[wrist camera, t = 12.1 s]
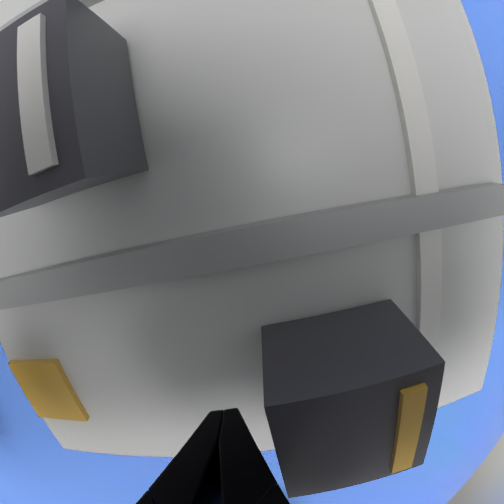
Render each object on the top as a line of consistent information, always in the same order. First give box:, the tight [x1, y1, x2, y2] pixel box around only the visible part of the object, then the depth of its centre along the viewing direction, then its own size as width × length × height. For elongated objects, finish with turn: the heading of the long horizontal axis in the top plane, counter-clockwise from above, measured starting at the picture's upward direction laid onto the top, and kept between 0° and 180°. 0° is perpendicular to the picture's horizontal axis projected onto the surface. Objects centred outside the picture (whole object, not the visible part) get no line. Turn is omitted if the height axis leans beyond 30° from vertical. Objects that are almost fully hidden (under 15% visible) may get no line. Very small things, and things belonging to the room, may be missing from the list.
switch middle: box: [0, 0, 149, 217], centre depth 6 cm, size 4×4×4 cm
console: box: [0, 0, 504, 457], centre depth 9 cm, size 20×26×3 cm
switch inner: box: [261, 299, 445, 498], centre depth 8 cm, size 4×4×4 cm
